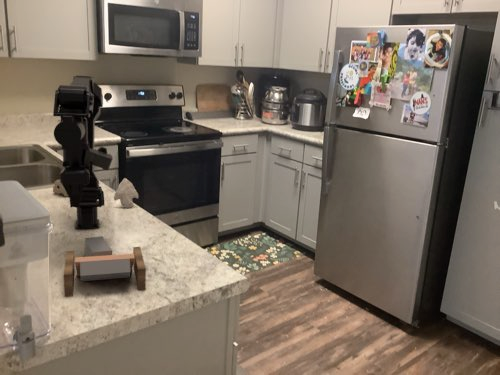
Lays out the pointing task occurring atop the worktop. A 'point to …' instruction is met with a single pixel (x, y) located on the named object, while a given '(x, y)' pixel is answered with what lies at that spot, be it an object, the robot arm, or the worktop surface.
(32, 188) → the worktop surface
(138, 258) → the brown bracket
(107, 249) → the gray rectangular block
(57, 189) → the decorative stone
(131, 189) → the arrowhead
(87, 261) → the trapdoor
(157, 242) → the worktop surface
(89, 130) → the robot arm
